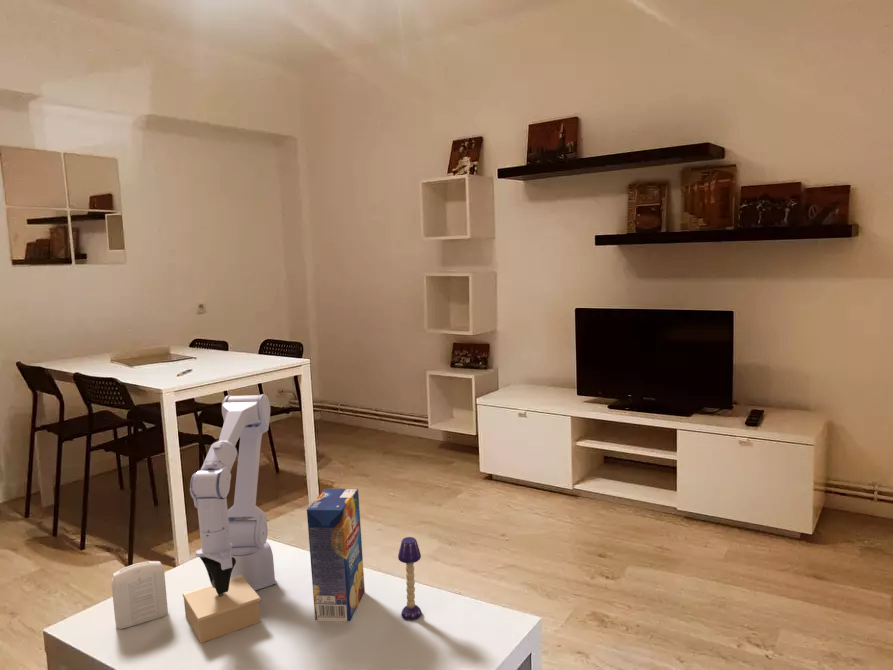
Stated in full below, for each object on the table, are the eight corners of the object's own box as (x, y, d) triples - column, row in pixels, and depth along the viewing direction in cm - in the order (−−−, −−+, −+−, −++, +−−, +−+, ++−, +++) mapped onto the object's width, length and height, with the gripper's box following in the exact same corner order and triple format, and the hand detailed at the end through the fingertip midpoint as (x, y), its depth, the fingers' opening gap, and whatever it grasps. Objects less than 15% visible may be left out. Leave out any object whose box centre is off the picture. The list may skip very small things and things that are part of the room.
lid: (241, 577, 149) (239, 555, 148) (260, 600, 139) (258, 577, 138) (182, 595, 142) (180, 573, 141) (198, 621, 132) (195, 596, 131)
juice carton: (350, 622, 138) (342, 510, 135) (315, 620, 139) (306, 510, 136) (364, 592, 150) (358, 488, 147) (332, 591, 151) (325, 488, 148)
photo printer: (166, 607, 147) (160, 553, 146) (170, 615, 144) (164, 560, 142) (114, 623, 142) (107, 567, 140) (117, 632, 138) (110, 575, 137)
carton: (241, 598, 150) (239, 577, 149) (260, 621, 140) (258, 599, 139) (185, 616, 143) (183, 595, 142) (200, 643, 133) (198, 619, 132)
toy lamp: (427, 611, 141) (423, 535, 139) (418, 623, 136) (414, 545, 134) (406, 608, 143) (402, 533, 140) (396, 619, 138) (392, 542, 136)
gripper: (185, 520, 142) (191, 581, 144) (203, 544, 130) (210, 610, 132) (219, 512, 146) (224, 571, 148) (240, 534, 134) (245, 598, 136)
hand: (220, 589), depth 140 cm, fingers closed on lid, 3 cm apart
